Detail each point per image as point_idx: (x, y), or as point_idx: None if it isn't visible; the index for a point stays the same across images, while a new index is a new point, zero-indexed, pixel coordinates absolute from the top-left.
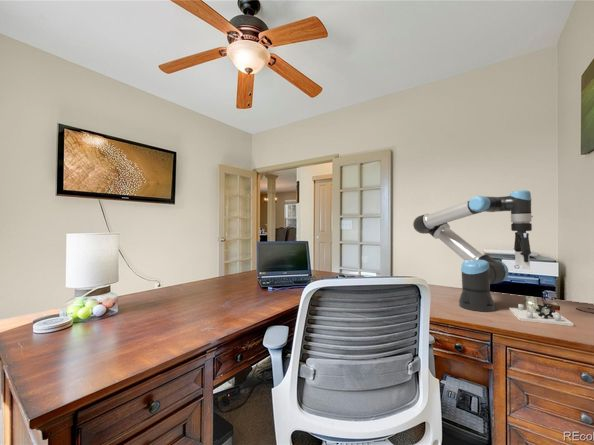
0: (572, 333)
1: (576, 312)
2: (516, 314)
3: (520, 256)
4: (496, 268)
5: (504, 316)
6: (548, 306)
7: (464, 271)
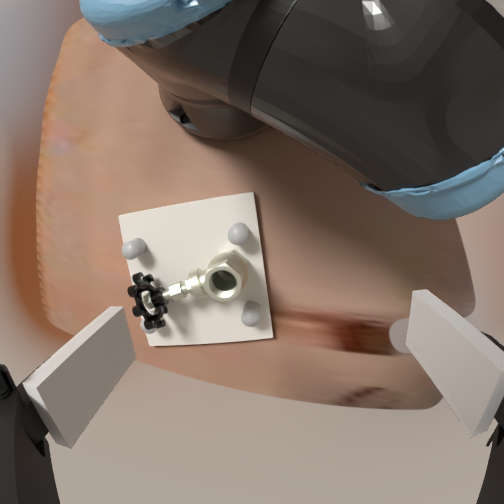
0: (90, 319)
1: (325, 384)
2: (156, 209)
3: (449, 382)
4: (292, 101)
5: (143, 171)
6: (143, 316)
7: None
